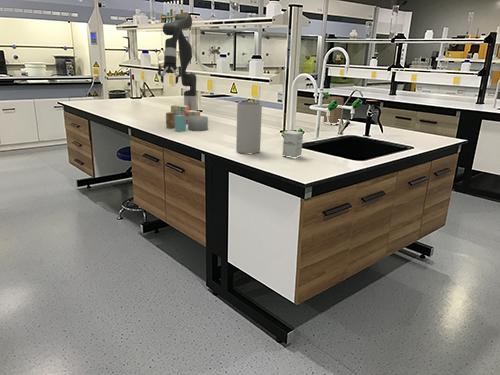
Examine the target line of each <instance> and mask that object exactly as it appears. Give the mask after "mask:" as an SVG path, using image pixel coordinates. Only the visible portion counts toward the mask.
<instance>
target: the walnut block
mask: <svg viewBox="0 0 500 375" xmlns="http://www.w3.org/2000/svg"><path fill="white" fill-rule="evenodd" d="M175 115H176V112H171V111H170V112H169V111H167V112H165V121H166V124H165V125H166V129H174V130H175Z"/></svg>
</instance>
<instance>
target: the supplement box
mask: <svg viewBox="0 0 500 375" xmlns="http://www.w3.org/2000/svg"><path fill="white" fill-rule="evenodd" d="M303 136H304V132H303V131H302V132H301V131H296V130H287V131H284V132H283V144H282V145H283V146H282V156H283V155H285V156H291V157H297V156H299V155H301V156H302V150H303V138H304V137H303Z"/></svg>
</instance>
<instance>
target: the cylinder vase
mask: <svg viewBox="0 0 500 375" xmlns="http://www.w3.org/2000/svg"><path fill="white" fill-rule="evenodd" d="M262 106H263V103H261V102H254V101H241V102H237V103H236V140H235V141H236V142H235V143H236V144H235V145H236V153H239V154H242V153H256V154H258V153H257V152H259V151H261V139H262V138H261V135H262V111H263V109H262V108H263V107H262ZM259 153H260V152H259Z"/></svg>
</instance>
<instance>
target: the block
mask: <svg viewBox="0 0 500 375" xmlns="http://www.w3.org/2000/svg"><path fill="white" fill-rule="evenodd" d="M328 97H329V98H328V99H326V98H325V99H324V100H325V103H324V105H325V104H328V103H329V102H330V101H332V100H335V101H337V102H338V105H342V106H343V107H344V100H345V99H344V97H341V96H328ZM323 113H324V114H323V123H324V122H327V117H326V112H324V111H323ZM340 118H341V109H339V108H336V109H334V110H333V111H331V112H330V118H329V122H330V123H337V122H339V120H338V119H340Z"/></svg>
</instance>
